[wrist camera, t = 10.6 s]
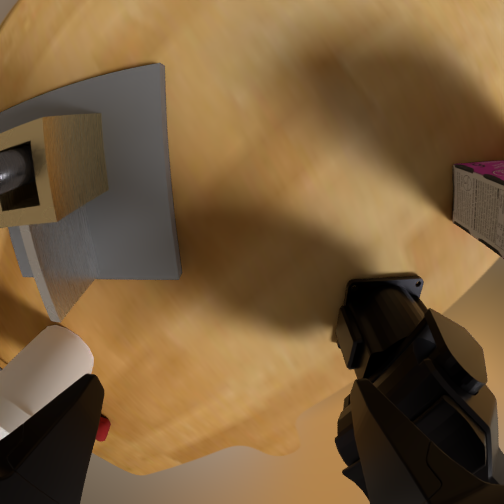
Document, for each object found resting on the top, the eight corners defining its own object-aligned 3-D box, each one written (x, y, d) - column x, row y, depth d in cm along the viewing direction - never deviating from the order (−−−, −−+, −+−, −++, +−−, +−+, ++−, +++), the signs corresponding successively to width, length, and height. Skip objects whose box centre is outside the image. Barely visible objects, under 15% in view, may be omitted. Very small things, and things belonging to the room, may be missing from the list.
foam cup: (74, 305, 22) (-2, 417, 11) (124, 378, 26) (84, 487, 14) (19, 318, 24) (-45, 402, 12) (64, 380, 27) (22, 466, 15)
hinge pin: (81, 134, 16) (-8, 150, 8) (87, 163, 16) (0, 194, 9) (59, 143, 16) (-29, 164, 8) (64, 171, 16) (-21, 204, 9)
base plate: (164, 65, 15) (160, 62, 14) (182, 272, 21) (179, 279, 20) (-1, 115, 15) (-9, 116, 14) (28, 271, 21) (22, 276, 20)
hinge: (101, 113, 15) (42, 117, 10) (124, 273, 20) (88, 325, 14) (-7, 146, 15) (-60, 163, 10) (21, 271, 20) (-20, 309, 14)
